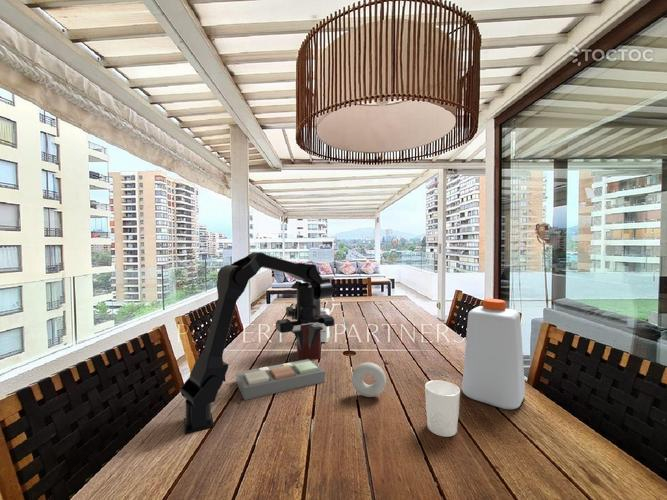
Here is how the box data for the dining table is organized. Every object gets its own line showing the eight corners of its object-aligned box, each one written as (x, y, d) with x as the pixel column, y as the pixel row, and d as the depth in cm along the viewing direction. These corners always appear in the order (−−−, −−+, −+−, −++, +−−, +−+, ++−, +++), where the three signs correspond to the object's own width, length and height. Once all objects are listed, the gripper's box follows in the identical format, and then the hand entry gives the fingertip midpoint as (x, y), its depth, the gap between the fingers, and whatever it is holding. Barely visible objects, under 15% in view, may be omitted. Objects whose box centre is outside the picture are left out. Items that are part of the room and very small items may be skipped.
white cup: (432, 415, 80) (432, 377, 80) (463, 427, 75) (464, 386, 74) (419, 429, 74) (419, 388, 73) (453, 443, 69) (453, 399, 68)
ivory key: (269, 383, 92) (269, 377, 92) (248, 388, 90) (248, 381, 90) (264, 376, 98) (264, 369, 98) (244, 379, 95) (244, 373, 95)
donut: (351, 398, 89) (351, 363, 88) (352, 392, 92) (352, 359, 92) (386, 400, 87) (386, 365, 87) (386, 395, 91) (386, 361, 90)
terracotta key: (294, 378, 96) (294, 372, 96) (275, 382, 93) (275, 375, 93) (288, 371, 101) (288, 365, 101) (270, 374, 99) (270, 368, 99)
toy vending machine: (297, 362, 116) (297, 287, 115) (297, 351, 127) (296, 283, 126) (321, 360, 117) (321, 287, 116) (318, 350, 128) (318, 283, 128)
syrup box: (327, 343, 138) (327, 310, 138) (314, 342, 139) (314, 310, 139) (329, 339, 143) (329, 308, 143) (317, 338, 145) (317, 307, 144)
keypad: (324, 382, 99) (324, 371, 99) (244, 400, 87) (244, 388, 87) (308, 367, 111) (308, 357, 111) (236, 381, 99) (236, 371, 99)
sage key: (317, 373, 100) (317, 367, 100) (300, 377, 97) (300, 370, 97) (310, 366, 105) (310, 361, 105) (293, 370, 102) (293, 364, 102)
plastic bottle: (473, 379, 101) (474, 294, 101) (527, 393, 91) (528, 299, 91) (457, 396, 90) (458, 300, 89) (517, 415, 80) (518, 307, 79)
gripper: (321, 295, 112) (321, 338, 112) (270, 300, 103) (270, 346, 104) (335, 300, 102) (335, 347, 102) (280, 305, 93) (281, 357, 94)
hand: (305, 349), depth 101 cm, fingers open, 3 cm apart
